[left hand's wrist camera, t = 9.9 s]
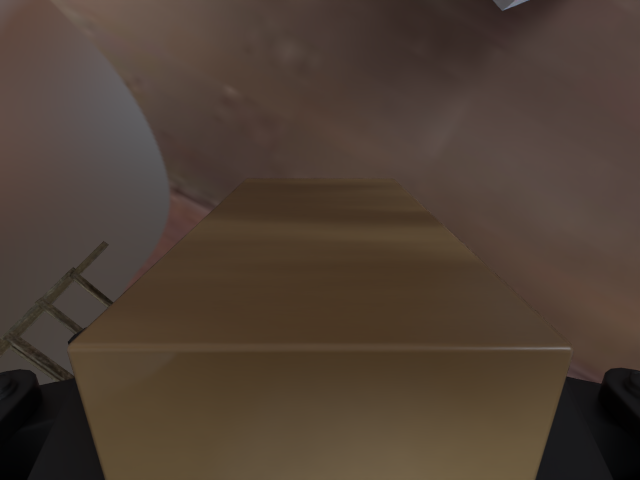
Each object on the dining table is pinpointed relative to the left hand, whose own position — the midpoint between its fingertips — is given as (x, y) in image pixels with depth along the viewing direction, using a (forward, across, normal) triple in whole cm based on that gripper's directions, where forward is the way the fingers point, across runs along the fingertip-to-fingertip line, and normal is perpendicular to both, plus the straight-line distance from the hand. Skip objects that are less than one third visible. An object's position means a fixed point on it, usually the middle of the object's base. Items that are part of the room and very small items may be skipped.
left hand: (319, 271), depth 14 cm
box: (+1, 0, -10) cm, 10 cm away
